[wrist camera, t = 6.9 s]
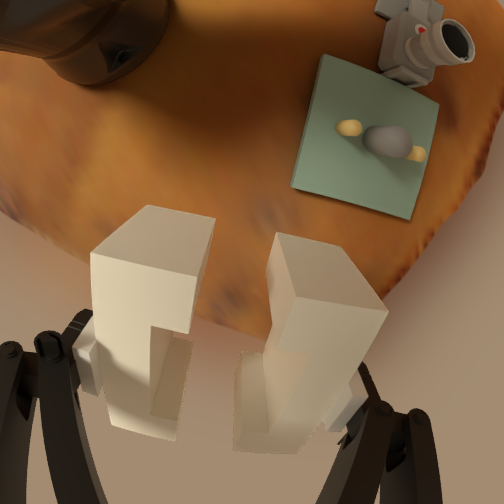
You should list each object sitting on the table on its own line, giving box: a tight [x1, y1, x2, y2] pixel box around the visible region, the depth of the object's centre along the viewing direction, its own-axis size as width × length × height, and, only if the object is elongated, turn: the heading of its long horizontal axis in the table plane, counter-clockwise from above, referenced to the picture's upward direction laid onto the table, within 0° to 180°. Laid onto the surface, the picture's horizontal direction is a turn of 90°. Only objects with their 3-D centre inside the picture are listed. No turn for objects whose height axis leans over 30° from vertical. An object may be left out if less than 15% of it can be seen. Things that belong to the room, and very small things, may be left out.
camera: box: [374, 0, 475, 88], centre depth 18 cm, size 9×12×15 cm
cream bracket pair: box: [90, 205, 389, 454], centre depth 13 cm, size 10×10×6 cm
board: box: [290, 54, 439, 220], centre depth 25 cm, size 15×15×7 cm
